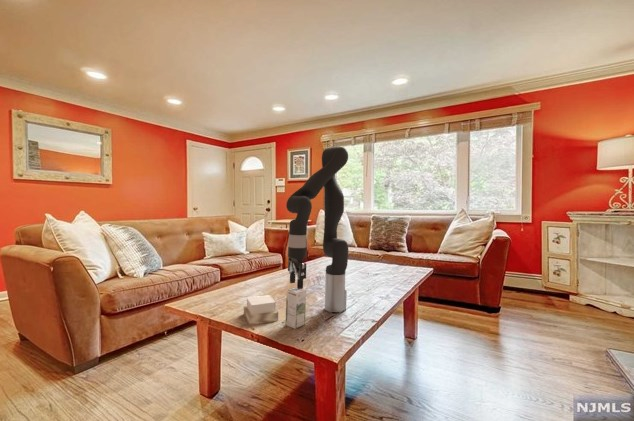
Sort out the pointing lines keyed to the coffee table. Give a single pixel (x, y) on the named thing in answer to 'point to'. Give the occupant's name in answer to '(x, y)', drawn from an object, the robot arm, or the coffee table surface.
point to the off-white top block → (261, 304)
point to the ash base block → (260, 317)
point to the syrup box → (295, 307)
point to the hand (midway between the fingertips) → (296, 285)
